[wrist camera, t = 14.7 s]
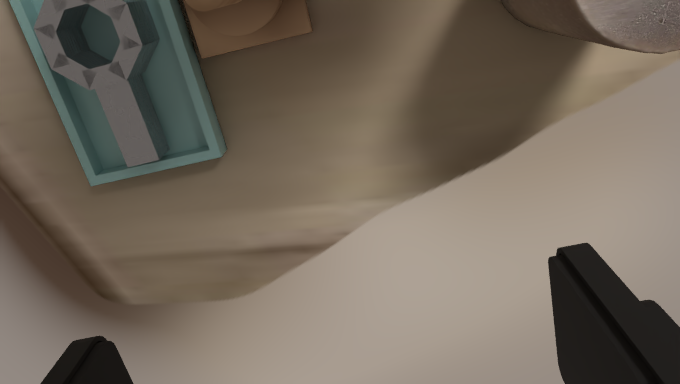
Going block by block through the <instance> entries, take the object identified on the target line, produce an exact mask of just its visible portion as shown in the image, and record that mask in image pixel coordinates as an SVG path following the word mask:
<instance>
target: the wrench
mask: <svg viewBox="0 0 680 384" xmlns="http://www.w3.org/2000/svg"><path fill="white" fill-rule="evenodd" d="M89 6H93V7H94V8H96V9H98V10H99V11H101V12H103V13H105V14H106V15H108V16H110V17H111V19H112V21H113V24H114V27H115V29H116V32H117V34H118V37H119V39H120V44H119V47H118V49H117V51H116V54H115V56H114V58H113V61H110V60H108V59H106V58H105V57H103V56H101V55H99V54H98V53H96V52H94V51H92V50H90V48H89V45H88V43H87V40H86V38H85V36H84V33H83V31H82V28H81V25H82V23H83V20H84V18H85V15H86V13H87V10H88V8H89ZM34 31H35V33H36V36H37V38H38V40H39V42H40V45H41V47H42V49H43V51H44V54H45V56H46V58H47V60H48V63H49V65H50V67H51V69H52V70H53V71H55V72H57V73H59V74H61V75H63V76H64V77H66V78H68V79H70V80H72V81H73V82H75V83H77V84H79V85H81V86H83V87H84V88H86V89H88V90H93V89H95V91H96V93H97V95H98V98H99V100H100V102H101V105H102V107H103V110H104V112H105V114H106V117H107V119H108V122H109V124H110V126H111V129H112V131H113V134H114V136H115V138H116V141H117V143H118V145H119V148H120V150H121V153H122V155H123V157H124V160H125V162H126V165H127V167H131V166H136V165H140V164H144V163H148V162H152V161H156V160H160V159H161V158H162V157H163V156H164V155H165V154H166V153H167V152H168V151H169V150H170V148H169V145H168V142H167V140H166V137H165V135H164V132H163V129H162V127H161V124H160V122H159V119H158V116H157V114H156V111H155V108H154V106H153V103H152V101H151V98H150V95H149V93H148V90H147V88H146V85H145V82H144V80H143V77H142V74H141V73H143V72H145V71H146V69H147V67H148V64H149V62H150V60H151V58H152V56H153V54H154V51H155V49H156V47H157V45H158V43H159V41H160V37H159V35H158V32H157V29H156V26H155V24H154V21H153V18H152V15H151V12H150V10H149V7H148V4H147V1H146V0H44V1H43V4H42V7H41V9H40V12H39V15H38V17H37V20H36V23H35V26H34Z"/></svg>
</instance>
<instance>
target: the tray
mask: <svg viewBox="0 0 680 384" xmlns="http://www.w3.org/2000/svg"><path fill="white" fill-rule="evenodd" d="M43 1H44V0H9V2H10V4H11V6H12V8H13V11H14V13H15V15H16V17H17V20H18V22H19V24H20V27H21V29H22V31H23V33H24V36H25V38H26V40H27V42H28V45H29V47H30V49H31V52H32V54H33V56H34V58H35V61H36V63H37V65H38V67H39V70H40V72H41V74H42V77H43V79H44V81H45V83H46V86H47V88H48V90H49V93H50V95H51V97H52V99H53V102H54V104H55V106H56V108H57V111H58V113H59V115H60V118H61V120H62V122H63V124H64V127H65V129H66V131H67V133H68V136H69V138H70V140H71V143H72V145H73V147H74V149H75V152H76V154H77V156H78V158H79V161H80V163H81V165H82V168H83V170H84V172H85V174H86V177H87V179H88V181H89V183H90V186H95V185H99V184H104V183H108V182H113V181H117V180H121V179H126V178H130V177H135V176H139V175H144V174H148V173H153V172H157V171H161V170H166V169H170V168H175V167H179V166H184V165H188V164H193V163H197V162H202V161H206V160H210V159H215V158H219V157H222V156H223V154H224V153H225V151H226V150H227V147H226V144H225V141H224V138H223V135H222V132H221V129H220V126H219V123H218V120H217V117H216V114H215V111H214V108H213V105H212V102H211V98H210V95H209V92H208V89H207V86H206V83H205V80H204V77H203V74H202V71H201V68H200V65H199V62H198V59H197V56H196V53H195V50H194V47H193V44H192V41H191V38H190V35H189V32H188V29H187V25H186V22H185V19H184V16H183V13H182V10H181V7H180V4H179V1H178V0H146V1H147V4H148V7H149V10H150V12H151V15H152V18H153V21H154V24H155V26H156V29H157V32H158V35H159V37H160V41H159V43H158V45H157V47H156V49H155V51H154V54H153V56H152V58H151V60H150V62H149V64H148V67H147V69H146V71H145V72H143V73H141V74H142V77H143V80H144V82H145V85H146V88H147V90H148V93H149V95H150V98H151V101H152V103H153V106H154V108H155V111H156V114H157V116H158V119H159V122H160V124H161V127H162V129H163V132H164V135H165V137H166V140H167V142H168V145H169V148H170V150H169V151H168V152H167V153H166V154H165V155H164V156H163V157H162V158H161V159H160V160H156V161H152V162H148V163H144V164H140V165H136V166H131V167H127V165H126V162H125V160H124V157H123V155H122V153H121V150H120V148H119V145H118V143H117V141H116V138H115V136H114V134H113V131H112V129H111V126H110V124H109V122H108V119H107V117H106V114H105V112H104V110H103V107H102V105H101V102H100V100H99V98H98V95H97V93H96V91H95V89H93V90H88V89H86V88H84V87H83V86H81V85H79V84H77V83H75V82H73V81H72V80H70V79H68V78H66V77H64V76H63V75H61V74H59V73H57V72H55V71H53V70H52V69H51V67H50V65H49V63H48V60H47V58H46V56H45V54H44V51H43V49H42V47H41V45H40V42H39V40H38V38H37V36H36V33H35V31H34V26H35V23H36V20H37V17H38V15H39V12H40V9H41V7H42V4H43ZM81 28H82V31H83V33H84V36H85V38H86V40H87V43H88V45H89V48H90V50H92V51H94V52H96V53H98V54H99V55H101V56H103V57H105V58H106V59H108V60H110V61H113V58H114V56H115V54H116V51H117V49H118V47H119V44H120V39H119V37H118V34H117V32H116V29H115V27H114V24H113V21H112V19H111V17H110V16H108V15H106V14H105V13H103V12H101V11H99V10H98V9H96V8H94V7H93V6H89V8H88V10H87V13H86V15H85V18H84V20H83V23H82V25H81Z"/></svg>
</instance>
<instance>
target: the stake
mask: <svg viewBox="0 0 680 384" xmlns="http://www.w3.org/2000/svg"><path fill="white" fill-rule="evenodd" d="M183 3H184V6H185V9H186V12H187V15H188V18H189V21H190V24H191V27H192V30H193V33H194V36H195V39H196V43H197V46H198V49H199V52H200V55H201V58H202V59H203V58H207V57H211V56H216V55H220V54H224V53H228V52H232V51H236V50H240V49H244V48H248V47H252V46H256V45H260V44H265V43H269V42H273V41H277V40H281V39H285V38H289V37H293V36H297V35H301V34H305V33H309V32H312V31H313V29H312V25H311V21H310V17H309V13H308V9H307V5H306V0H183Z"/></svg>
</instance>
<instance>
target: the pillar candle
mask: <svg viewBox="0 0 680 384" xmlns="http://www.w3.org/2000/svg"><path fill="white" fill-rule="evenodd" d="M502 4H503V5H504V7H505V8H507V10H508V11H509V12H510V13H511V14H512V15H513V16H514V17H515V18H516V19H517V20H520V21H521V22H523V23H524V24H526V25H528V26H530V27H535V28H538V29H541V30H544V31H547V32H552V33H556V34H559V35H564V36H569V37H574V38H577V39H582V40H585V41H589V42H595V43H598V44H602V45H606V46H610V47H614V48H620V49H626V50H631V51H637V52H643V53H657V54H663V53H667V52H671V51H677V50H680V0H502Z"/></svg>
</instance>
